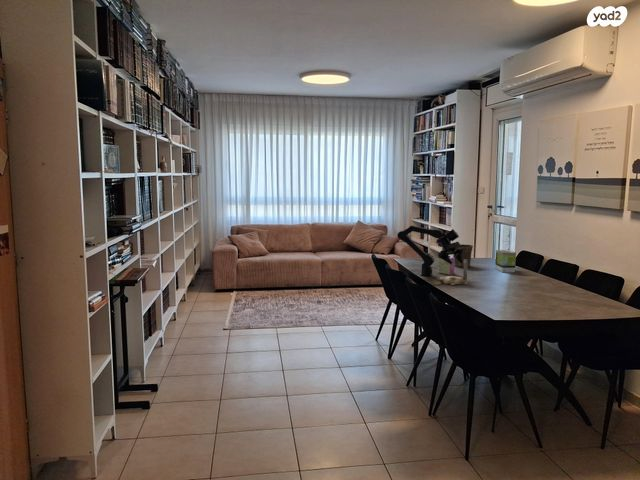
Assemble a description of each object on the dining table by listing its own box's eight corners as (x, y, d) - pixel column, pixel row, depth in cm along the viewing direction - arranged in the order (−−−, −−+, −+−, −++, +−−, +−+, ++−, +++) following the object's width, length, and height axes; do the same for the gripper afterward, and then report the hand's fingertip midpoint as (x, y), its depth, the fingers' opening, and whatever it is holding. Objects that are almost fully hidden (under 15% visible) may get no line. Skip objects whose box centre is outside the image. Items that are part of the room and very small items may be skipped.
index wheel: (437, 284, 316) (437, 261, 314) (437, 277, 336) (438, 256, 335) (468, 285, 312) (469, 262, 310) (466, 279, 332) (467, 257, 330)
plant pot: (446, 265, 387) (447, 244, 385) (462, 263, 394) (463, 243, 392) (460, 268, 373) (461, 247, 371) (477, 266, 379) (477, 246, 377)
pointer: (435, 284, 316) (435, 281, 316) (433, 284, 318) (433, 280, 318) (441, 284, 318) (441, 280, 318) (438, 283, 320) (438, 280, 320)
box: (454, 273, 352) (454, 257, 351) (449, 274, 349) (450, 258, 347) (442, 271, 360) (442, 255, 359) (437, 272, 357) (437, 256, 355)
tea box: (515, 272, 356) (516, 252, 354) (501, 272, 356) (502, 252, 354) (508, 268, 371) (508, 249, 369) (494, 268, 371) (495, 249, 369)
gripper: (441, 238, 328) (452, 257, 319) (462, 236, 336) (473, 255, 328) (433, 248, 336) (443, 267, 327) (454, 246, 344) (464, 265, 336)
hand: (456, 263), depth 329 cm, fingers open, 9 cm apart
